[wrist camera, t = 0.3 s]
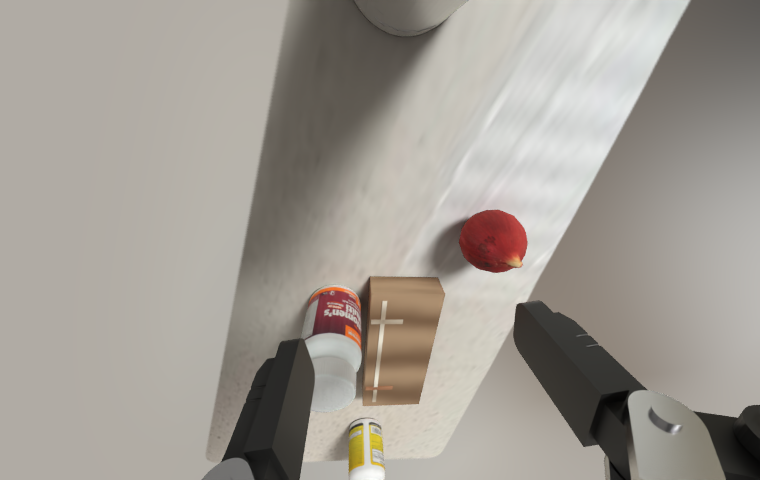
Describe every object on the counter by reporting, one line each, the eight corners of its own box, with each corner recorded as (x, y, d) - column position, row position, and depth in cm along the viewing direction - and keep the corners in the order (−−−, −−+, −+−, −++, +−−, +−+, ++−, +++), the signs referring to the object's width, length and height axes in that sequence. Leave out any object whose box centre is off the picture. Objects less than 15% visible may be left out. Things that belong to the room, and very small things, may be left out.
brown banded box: (370, 276, 31) (371, 294, 28) (437, 277, 32) (445, 294, 29) (362, 385, 40) (362, 406, 37) (414, 384, 41) (418, 404, 38)
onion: (458, 255, 30) (489, 303, 23) (442, 213, 28) (472, 253, 21) (508, 234, 30) (555, 277, 23) (496, 189, 27) (546, 222, 20)
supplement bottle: (348, 435, 46) (346, 512, 38) (350, 417, 44) (349, 495, 35) (379, 434, 47) (384, 510, 38) (383, 416, 45) (389, 493, 36)
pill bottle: (369, 292, 32) (375, 381, 22) (347, 327, 34) (344, 421, 24) (320, 275, 30) (303, 363, 20) (301, 313, 33) (277, 408, 23)
